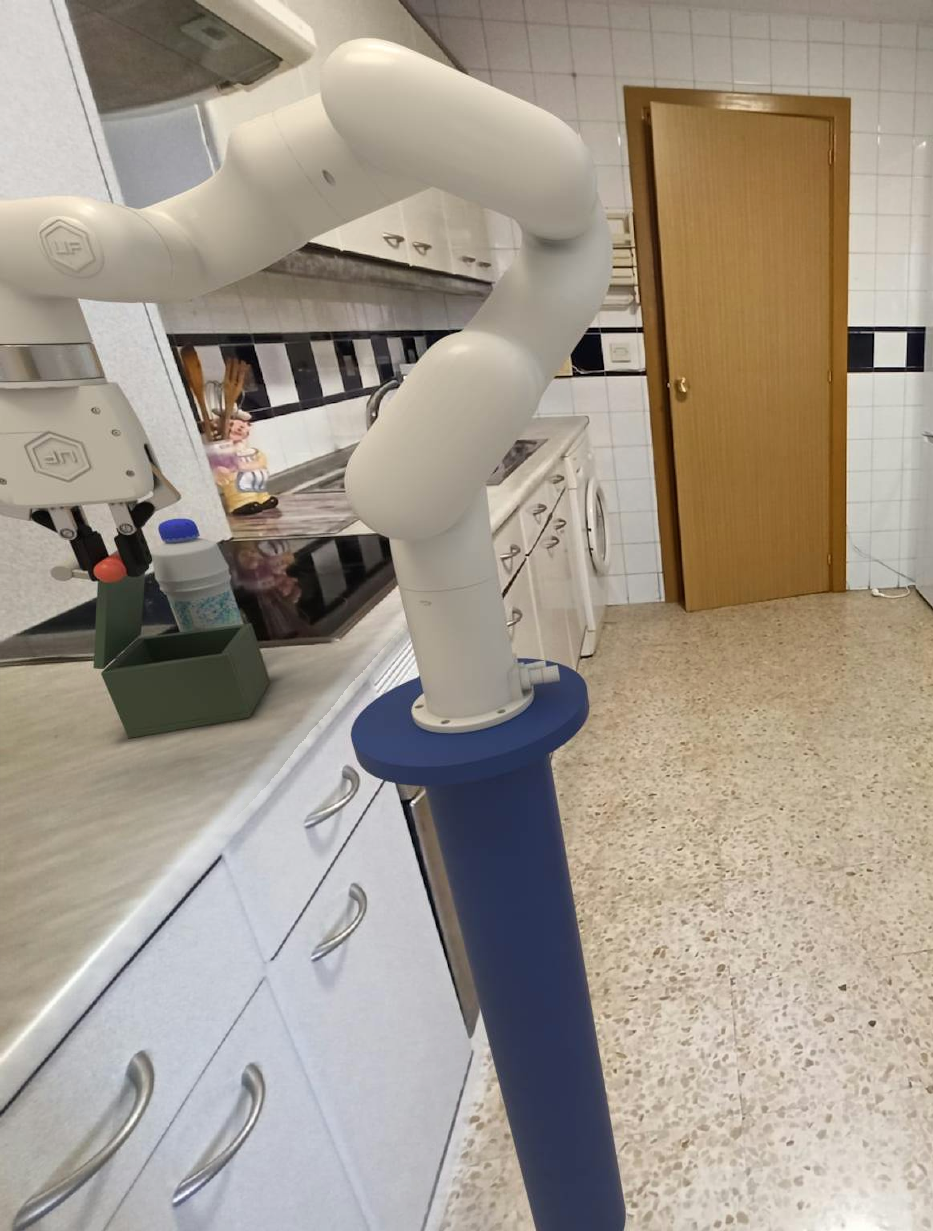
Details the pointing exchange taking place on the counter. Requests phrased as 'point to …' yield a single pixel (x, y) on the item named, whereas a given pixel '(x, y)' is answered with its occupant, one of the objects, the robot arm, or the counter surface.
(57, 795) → the counter surface
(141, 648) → the bin
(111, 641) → the bin lid
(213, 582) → the bottle
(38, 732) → the counter surface
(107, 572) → the red jelly bean
